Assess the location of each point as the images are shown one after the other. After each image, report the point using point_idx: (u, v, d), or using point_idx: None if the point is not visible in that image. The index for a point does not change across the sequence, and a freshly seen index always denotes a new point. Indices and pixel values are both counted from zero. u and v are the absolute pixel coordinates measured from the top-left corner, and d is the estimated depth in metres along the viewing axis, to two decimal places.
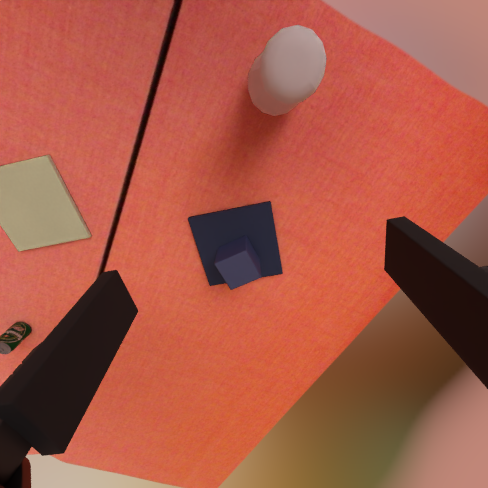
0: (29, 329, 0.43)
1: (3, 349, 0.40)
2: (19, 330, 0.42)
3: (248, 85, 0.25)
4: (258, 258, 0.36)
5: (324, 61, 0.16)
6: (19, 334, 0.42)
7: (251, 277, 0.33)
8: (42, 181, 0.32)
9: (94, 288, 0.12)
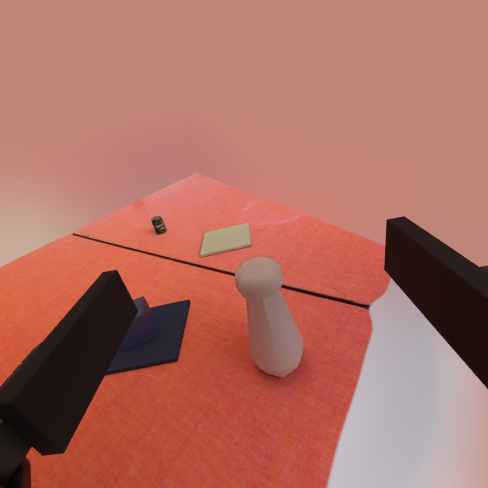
0: (159, 233, 0.71)
1: (154, 218, 0.70)
2: (161, 228, 0.71)
3: None
4: (125, 347, 0.35)
5: (256, 282, 0.21)
6: (158, 227, 0.70)
7: None
8: (238, 241, 0.55)
9: (94, 288, 0.12)
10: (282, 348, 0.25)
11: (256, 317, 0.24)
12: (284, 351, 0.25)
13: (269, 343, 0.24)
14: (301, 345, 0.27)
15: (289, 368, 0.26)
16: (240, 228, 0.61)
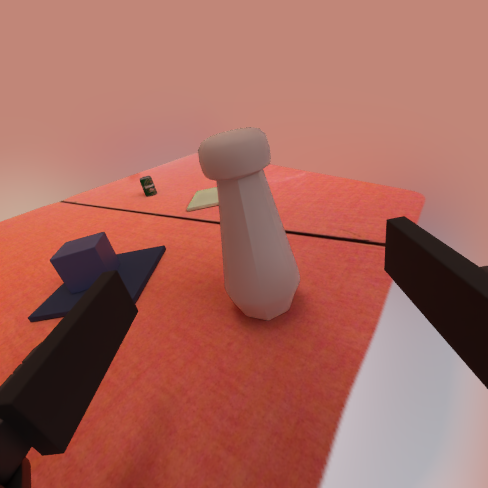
0: (148, 194, 0.64)
1: (143, 177, 0.63)
2: (150, 189, 0.63)
3: None
4: (75, 289, 0.27)
5: (226, 143, 0.14)
6: (147, 187, 0.63)
7: (59, 253, 0.27)
8: None
9: (94, 288, 0.12)
10: (267, 268, 0.17)
11: (230, 217, 0.16)
12: (269, 274, 0.17)
13: (248, 259, 0.17)
14: (296, 273, 0.19)
15: (277, 302, 0.18)
16: None
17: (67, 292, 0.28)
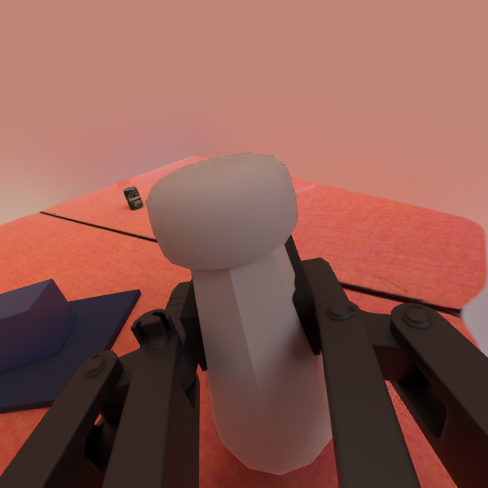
0: (133, 208, 0.56)
1: (127, 189, 0.55)
2: (135, 201, 0.55)
3: None
4: (4, 366, 0.19)
5: (199, 198, 0.06)
6: (132, 200, 0.55)
7: None
8: None
9: None
10: (287, 416, 0.09)
11: (215, 329, 0.08)
12: (292, 426, 0.09)
13: (251, 404, 0.09)
14: None
15: (303, 464, 0.10)
16: None
17: None
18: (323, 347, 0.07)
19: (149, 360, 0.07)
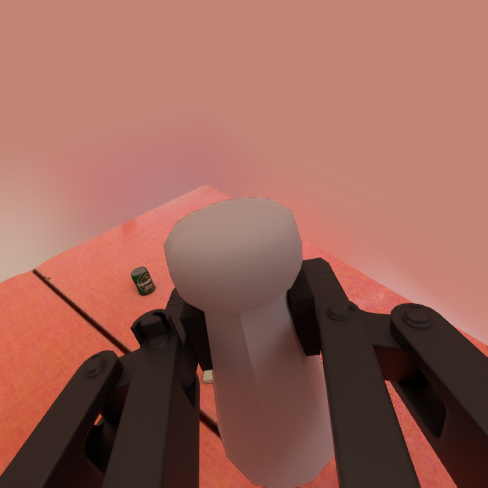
0: (142, 293, 0.45)
1: (136, 271, 0.44)
2: (145, 286, 0.45)
3: None
4: None
5: (213, 255, 0.06)
6: (142, 285, 0.44)
7: None
8: None
9: None
10: (289, 439, 0.09)
11: (224, 359, 0.09)
12: (294, 448, 0.10)
13: (257, 427, 0.09)
14: None
15: (305, 483, 0.10)
16: None
17: None
18: (323, 347, 0.07)
19: (149, 360, 0.07)
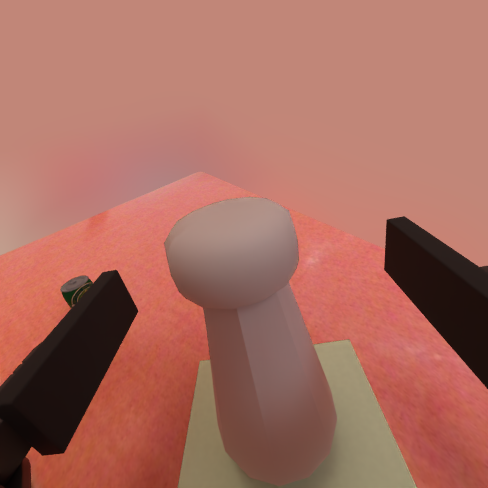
0: None
1: (70, 284, 0.26)
2: None
3: None
4: None
5: (210, 252, 0.07)
6: None
7: None
8: None
9: (94, 288, 0.12)
10: (286, 434, 0.10)
11: (222, 355, 0.09)
12: (291, 442, 0.10)
13: (254, 422, 0.10)
14: (332, 419, 0.11)
15: (301, 477, 0.11)
16: (332, 373, 0.16)
17: None
18: None
19: None
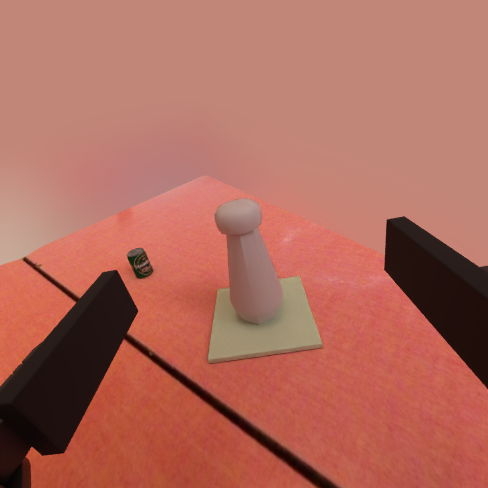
0: (139, 276, 0.42)
1: (132, 252, 0.42)
2: (143, 269, 0.42)
3: None
4: None
5: (232, 215, 0.22)
6: (139, 267, 0.41)
7: None
8: (289, 329, 0.26)
9: (94, 288, 0.12)
10: (258, 290, 0.25)
11: (234, 257, 0.24)
12: (260, 294, 0.25)
13: (246, 284, 0.25)
14: (279, 293, 0.27)
15: (265, 313, 0.26)
16: (287, 289, 0.32)
17: None
18: None
19: None
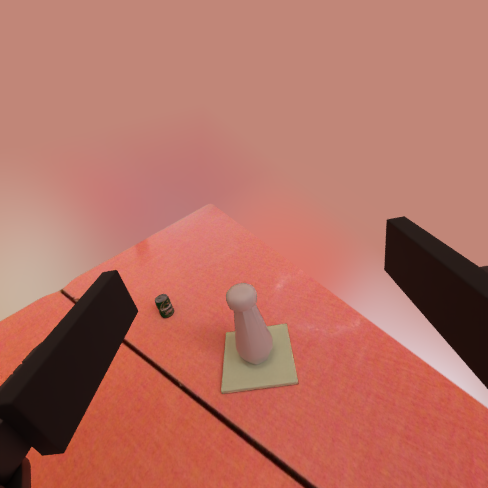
0: (164, 316, 0.54)
1: (159, 298, 0.54)
2: (167, 311, 0.54)
3: None
4: None
5: (237, 301, 0.34)
6: (164, 310, 0.54)
7: None
8: (277, 369, 0.38)
9: (94, 288, 0.12)
10: (255, 344, 0.37)
11: (239, 323, 0.36)
12: (256, 347, 0.37)
13: (247, 341, 0.37)
14: (270, 344, 0.39)
15: (260, 358, 0.38)
16: (277, 335, 0.44)
17: None
18: None
19: None
